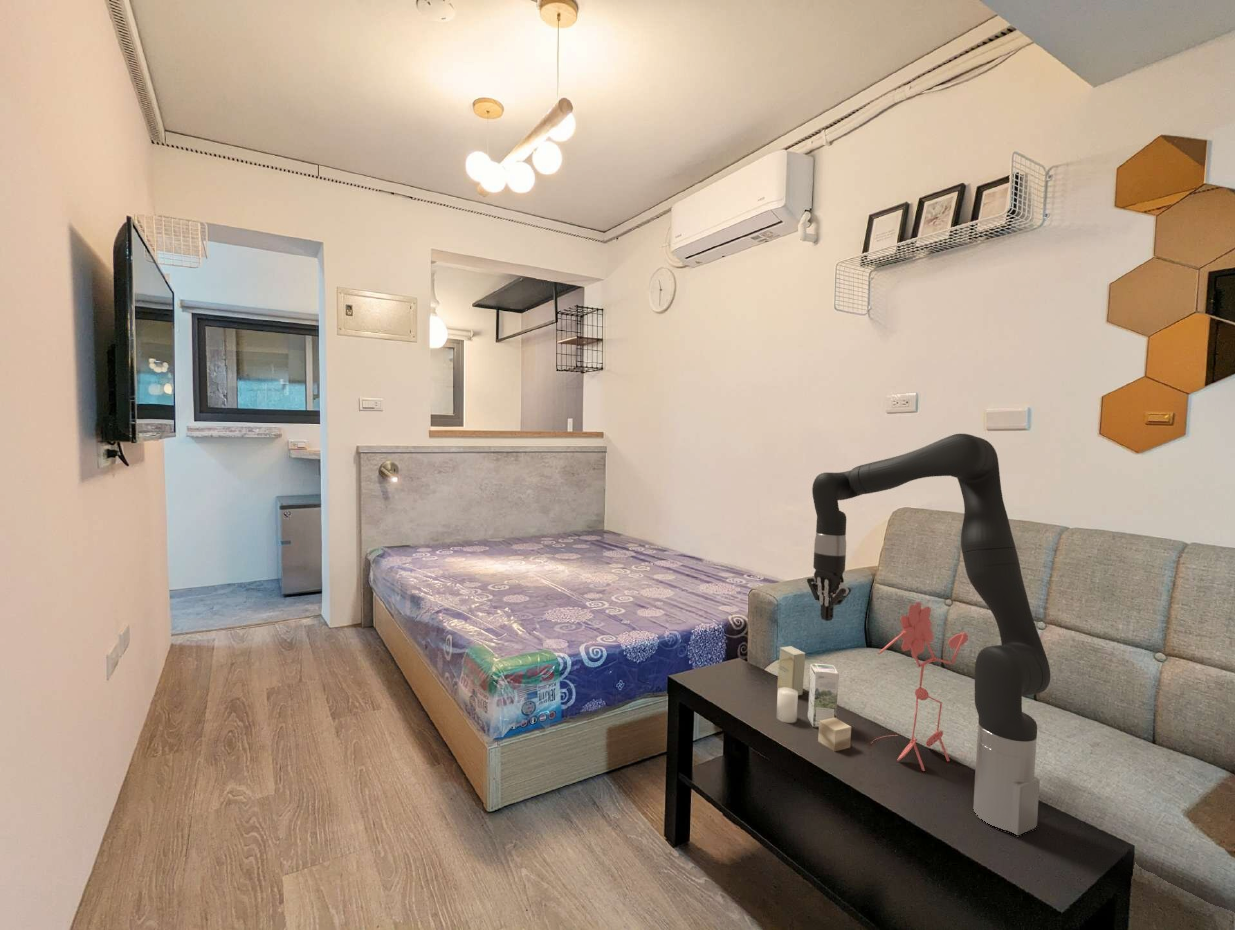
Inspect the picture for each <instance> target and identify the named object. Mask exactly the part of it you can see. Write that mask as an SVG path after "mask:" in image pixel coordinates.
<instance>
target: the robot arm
mask: <svg viewBox="0 0 1235 930" xmlns="http://www.w3.org/2000/svg"><path fill="white" fill-rule="evenodd" d="M933 477H954V478H956V479H957V481H958V484H959V488H960V492H961V495H962V499H963V500H962V501H963V504H964V505H963V506H964V507H963V508H964V514H963V521H962V526H961V527H962V528H961V532H960V533H961V535H960V548H961V554H962V558H963V563H964V568H965V572H966V576H967V578H968V580H969V582H970V584H971V585H972V587H973V589H974V590H975V592H976V593H977V594H978V596H979V597H980V598H981V599H982V601H983V602H984V603H985V604H986V606H987V607H988V609H989V611H991V613H992V615H993V617H994V619H995V621H996V622H995V623H996V625H997V628H998V632H999V637H1000V641H1001V642H1000V643H1001V644H1000V645H999V644H998V645H997V644H995V645H990V646H985V647H983V648H982V649H981V650H980V651H979V652H978V654H977V657H976V659H975V664H974V665H975V666H974V705H975V709H976V712H977V715H978V723H977V724H978V726H977V738H976V754H975V757H976V758H975V773H974V786H973V787H974V788H973V789H974V791H973V793H974V794H973V809H974V810H973V812H975V813H976V814H975V813H974V814H975V816H977V815H978V816H977V818H979V819H980V820H981V819H982V820H983V821H982V820H981V821H982V822H984V821H985V822H986V823H985V822H984V823H985V824H987V823H988V824H990V825H992V826H995V827H998V828H1001V829H1003V830H1008V831H1010V832H1012V833H1014V834H1016V835H1020V834H1022V833H1024V832H1027V831H1028V830H1030V829H1032V828H1034V827H1036V826H1037V827H1038V812H1039V797H1040V796H1039V795H1040V778H1039V777H1037V776H1035V770H1036V755H1037V739H1038V724H1037V722H1036V720H1035V719H1034V717H1032V716H1031V715H1029V714H1027V713H1025V712H1024V711H1023V705H1022V704H1023V702H1022V699H1023V697H1024V696H1032V695H1038V694H1041V693H1043V692H1045V691H1046V690H1047V689H1048V688H1049V685H1050V682H1051V669H1050V664H1049V660H1048V658H1047V654H1046V651H1045V649H1044V646H1043V643H1042V641H1041V637H1040V635H1039V631H1038V629H1037V626H1036V623H1035V620H1034V617H1033V614H1032V610H1031V607H1030V602H1029V597H1028V594H1027V591H1026V587H1025V584H1024V580H1023V574H1022V569H1021V564H1020V560H1019V556H1018V551H1017V548H1016V544H1015V541H1014V540H1015V539H1014V537H1013V533H1012V529H1011V524H1010V522H1009V517H1008V514H1007V513H1008V512H1007V511H1006V510H1007V509H1006V507H1005V503H1004V499H1003V492H1002V485H1001V483H1002V482H1001V476H1000V464H999V458H998V454H997V451H996V449H995V447H994V446H993V445H992V443H990V442H989V441H988V440H987V439H984V438H982V437H980V436H979V437H978V436H975V435H972V434H968V433H955V434H952V435H949V436H947V437H944V438H941V439H939V440H937V441H934V442H932V443H930V444H928V445H926V446H923V447H921V448H918V449H915V450H912V451H909V452H906V453H904V454H900V455H897V456H893V457H889V458H885V459H881V460H877V461H872V462H868V463H864V464H860V465H858V466H856V467H855V466H854V468H852V469H851V470H847V471H840V472H822V473H820V474H818V475H817V476H816V477H815V479H814V480H813V484H812V489H811V491H812V493H811V494H812V498H813V505H814V509H815V513H816V528H815V529H816V530H815V536H814V537H815V538H814V545H813V546H814V547H813V549H814V551H813V569H814V570H815V571H814V573H813V576H812V577H810V578H807V579H806V582H807V585H808V587H809V589H810V591H811V594H812V596H813V599H814V600H815V601H818V602H819V604H820V618H821V620H823V621H826V622H831V621H832V620H833V618H834V609H835V608H834V607H835V606H840V605H842V603H843V602H844V601H846V598H847V597H848V596H849V595H850V593H851V592H852V589H851V588H850V587H847V586H846V584H845V580H844V576H843V574H844V572H845V571H846V560H847V558H846V557H847V555H846V554H847V539H846V538H847V534H846V533H847V515H846V513H845V512H844V511H841V510H840V507H839V501H844V500H849V499H853V498H856V497H858V496H862V495H867V494H873V493H879V492H883V491H887V490H891V489H895V488H898V487H900V486H902V485H904V484H907V483H910V482H911V481H915V480H916V481H917V480H920V479H925V478H933ZM988 824H987V825H988ZM990 825H989V826H990ZM992 826H991V827H992ZM1020 836H1021V835H1020Z"/></svg>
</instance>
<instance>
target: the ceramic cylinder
mask: <svg viewBox="0 0 1235 930" xmlns="http://www.w3.org/2000/svg"><path fill="white" fill-rule="evenodd" d="M776 696H777V698H776V699H777V700H776V719H778V721H780V722H783V723H786V724H793V723H796V722H797V719H798V702H799V701H798V699H799V695H798V692H797V691H796V690H794V689H791V688H786V687H782V688H779V689H778V688H777V695H776Z"/></svg>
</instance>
